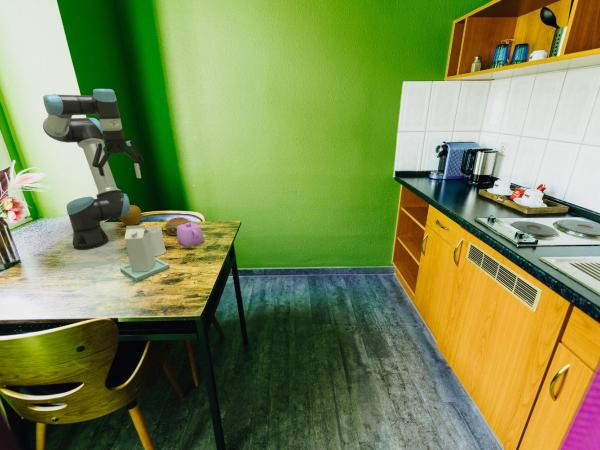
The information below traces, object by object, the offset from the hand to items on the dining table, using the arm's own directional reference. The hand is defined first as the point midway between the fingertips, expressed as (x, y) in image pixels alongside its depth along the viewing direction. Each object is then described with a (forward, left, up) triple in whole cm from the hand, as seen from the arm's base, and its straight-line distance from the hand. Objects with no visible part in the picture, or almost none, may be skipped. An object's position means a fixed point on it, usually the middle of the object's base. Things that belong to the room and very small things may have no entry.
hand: (123, 180), depth 133 cm
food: (-8, +26, -35) cm, 44 cm away
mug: (+7, +3, -35) cm, 36 cm away
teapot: (+9, +22, -35) cm, 42 cm away
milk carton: (+19, -7, -34) cm, 40 cm away
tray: (+20, -7, -35) cm, 41 cm away
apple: (-43, +16, -35) cm, 58 cm away
